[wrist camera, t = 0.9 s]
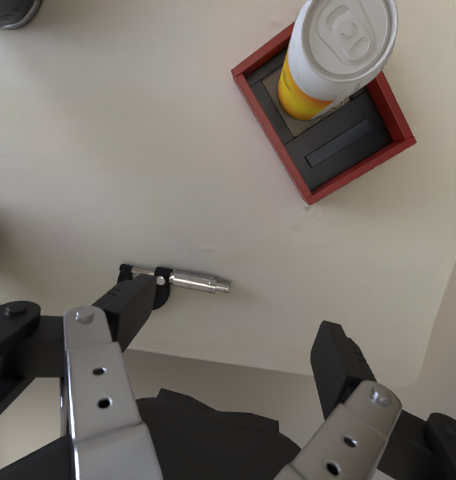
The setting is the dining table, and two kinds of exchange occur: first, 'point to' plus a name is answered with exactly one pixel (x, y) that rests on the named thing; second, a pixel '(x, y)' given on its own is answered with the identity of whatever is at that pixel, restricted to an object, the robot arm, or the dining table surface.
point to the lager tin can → (335, 53)
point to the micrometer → (174, 281)
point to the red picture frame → (325, 127)
